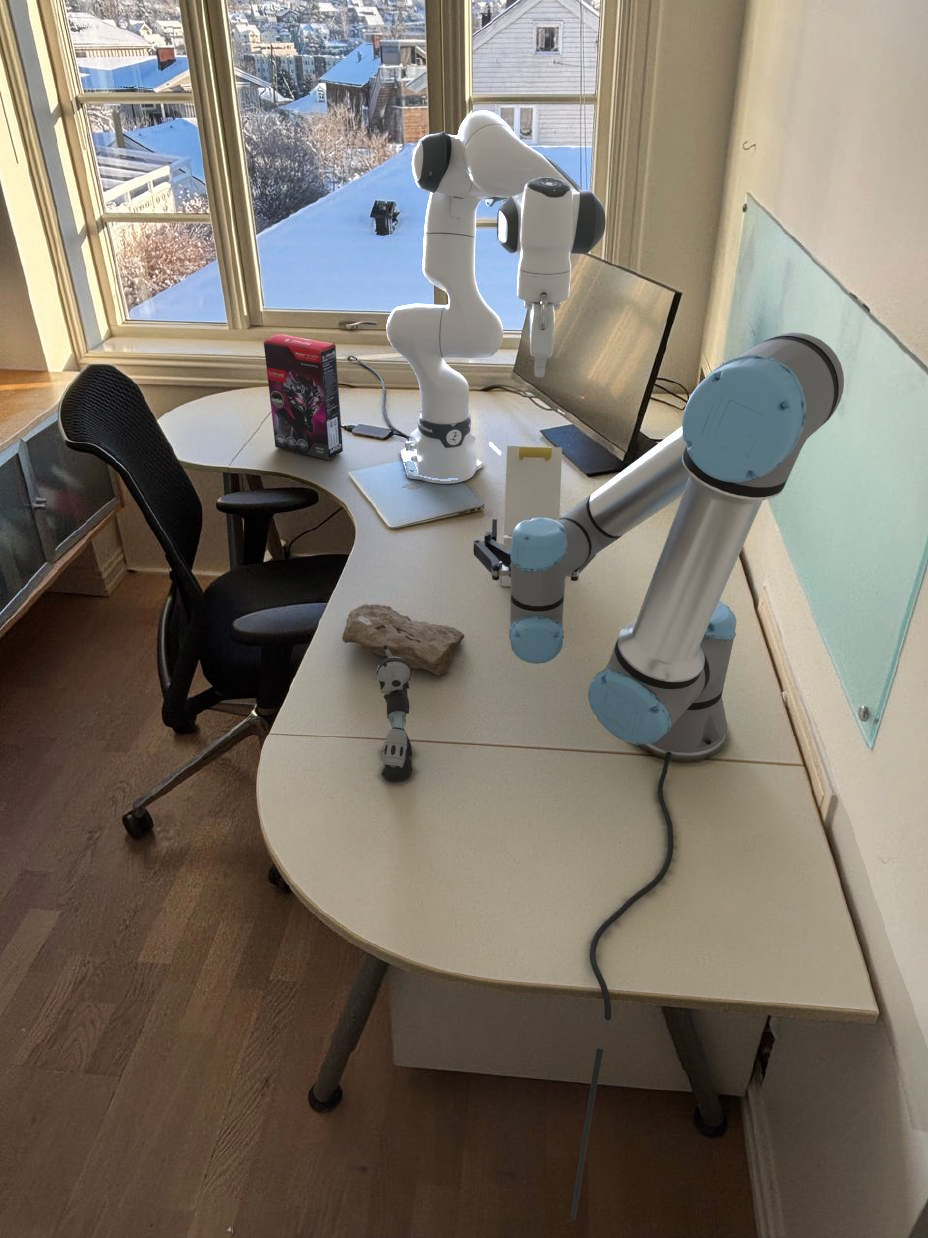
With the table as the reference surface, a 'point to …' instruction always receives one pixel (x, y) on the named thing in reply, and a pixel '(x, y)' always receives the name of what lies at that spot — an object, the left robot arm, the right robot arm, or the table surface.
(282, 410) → the graphics card box
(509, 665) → the table surface
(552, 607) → the right robot arm
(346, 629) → the stone
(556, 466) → the white lid with handle
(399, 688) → the robot
